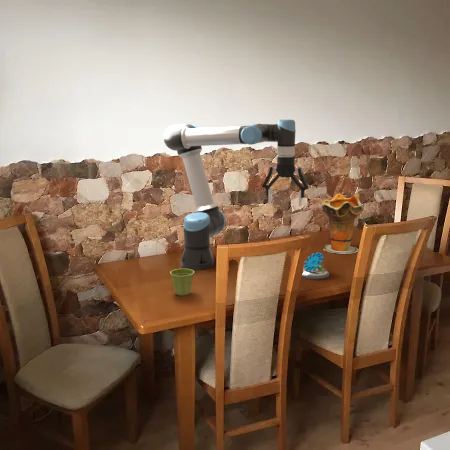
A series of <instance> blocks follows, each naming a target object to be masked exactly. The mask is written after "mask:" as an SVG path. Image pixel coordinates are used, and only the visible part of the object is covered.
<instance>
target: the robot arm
mask: <svg viewBox="0 0 450 450" xmlns="http://www.w3.org/2000/svg"><path fill="white" fill-rule="evenodd" d="M296 131H297V130H296V121H295V120H294V119H279V120H277V123H276V124H275V123H274V124H273V123H253V124H252V125H237V126H236V125H235V126H219V127H218V126H215V127H213V126H212V127H198V126H196V125H195V124H193V123H186V122H185V123H181V124H173V125H170V126H168V127H167V128H166V129H165V131H164V133H163V141H164V142H163V143H164V145H165V146H166V147H167V148H168V149H169V150H172V151H176V152H177V156H178V157H179V158H181V159H182V163H183V165H184V169H185V172H186V176H187V180H188V183H189V187H190V190H191V193H192V198H193V201H194V204H195V210H194V212H192V213H189V214H187V215H186V216H184V219H183V225H182V227H183V242H184V243H183V244H184V247H183V248H184V249H183V253H182V256H181V259H180V266H181V268H183V269H191V270H193V271H195V270H196V271H197V270H198V271H199V270H200V271H201V270H206V269H210V268H212V267H213V266H214V265H215V259H214V256H213V253H212V250H211V238H212V237H214V236H217V235H218V234H220V233H221V232H222V231H223V230H224V229H225V226H226V221H227V220H226V216H225V214H224V213H223V212H222V211H221V210H220V209H219V206H218V204H216V203H215V202H214V199H213V196H212V195H213V194H212V191H211V188H210V185H209V180H208V178H207V175H206V170H205V167H204V162H203V158H202V156H201V153H202V150H203V147H204V146H205V147H207V146H227V145H229V146H230V145H256V144H259V143H264V142H265V143H268V142H269V143H271V142H272V143H273V142H274V143H277V147H276V148H277V151H276V153H277V154H276V155H277V157H276V166H275V167H274V166H270V167H269V171H268V173H267V175H266V178H265V180H264V182H263V183H262V186H261V187H262V188H264V189H265V192H266V193H265V195H266V197H268V199H267V200H268V202H267V204H268V205H271V204H272V197H273V195H272V191H273V188H271V187H272V186H273V185H274V184H275V182H277V180H278V179H279V178H282V179H284V178H285V179H289V178H290V179H291V180H292V181H293V182H294V183H295V185H296V186H297V187H298V188H299V189H300V190H298V207H300V206H302V203H303V200H302V199H304V198H305V192H306V190H308V189H310V187H309V184H308V182H307V180H306V178H305V175H304V174H303V169H302V167H295V163H296V162H295V158H296V157H295V155H296ZM202 146H203V147H202ZM275 172H276V173H277V174H276V175H275V176H274V177H273V178H272V180H271V177H272V175H273V173H275ZM295 172H296V173H297V174H298V176H299V178H300V180H301V181H300V180H299V179H298V178H297V176H296V175H295ZM270 180H271V181H270ZM269 181H270V183H269Z"/></svg>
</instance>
